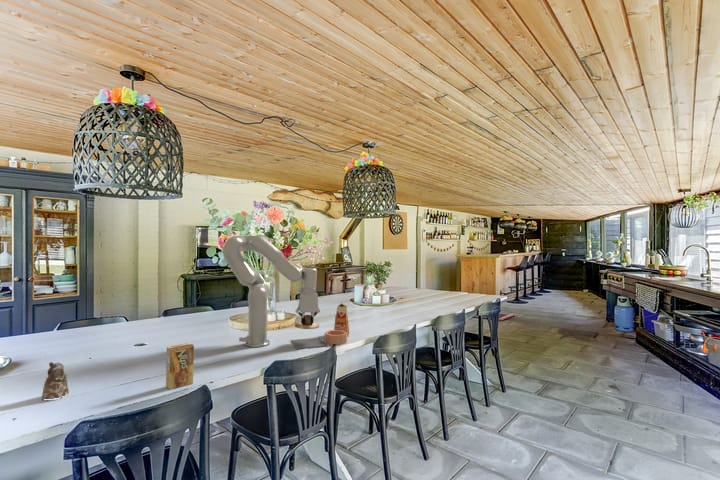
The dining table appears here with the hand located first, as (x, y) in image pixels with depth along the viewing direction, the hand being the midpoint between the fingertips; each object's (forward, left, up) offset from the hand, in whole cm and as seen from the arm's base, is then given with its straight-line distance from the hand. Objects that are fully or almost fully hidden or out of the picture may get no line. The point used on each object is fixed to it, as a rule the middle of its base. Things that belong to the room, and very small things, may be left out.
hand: (307, 324), depth 202 cm
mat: (+1, 0, -11) cm, 11 cm away
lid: (0, 0, -1) cm, 1 cm away
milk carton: (+24, +13, -11) cm, 29 cm away
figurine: (-99, -36, -11) cm, 106 cm away
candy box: (-59, -39, -11) cm, 72 cm away
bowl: (+16, -1, -11) cm, 19 cm away
